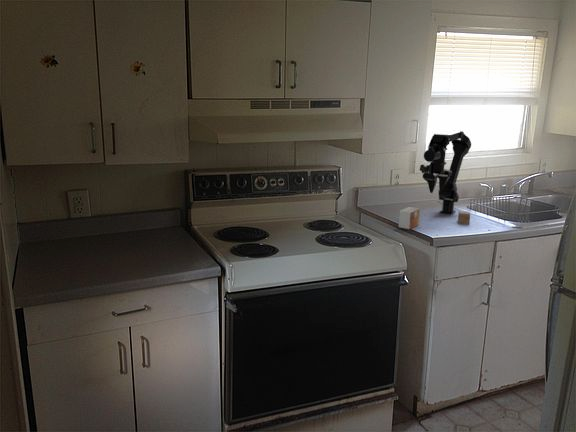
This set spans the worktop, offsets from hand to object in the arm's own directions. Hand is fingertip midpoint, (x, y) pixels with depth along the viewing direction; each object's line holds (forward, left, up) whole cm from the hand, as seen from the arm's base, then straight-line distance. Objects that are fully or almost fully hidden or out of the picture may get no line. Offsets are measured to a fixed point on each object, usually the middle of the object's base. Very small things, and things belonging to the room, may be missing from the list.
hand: (435, 191), depth 265 cm
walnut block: (+1, +15, -13) cm, 20 cm away
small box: (+19, -3, -9) cm, 21 cm away
